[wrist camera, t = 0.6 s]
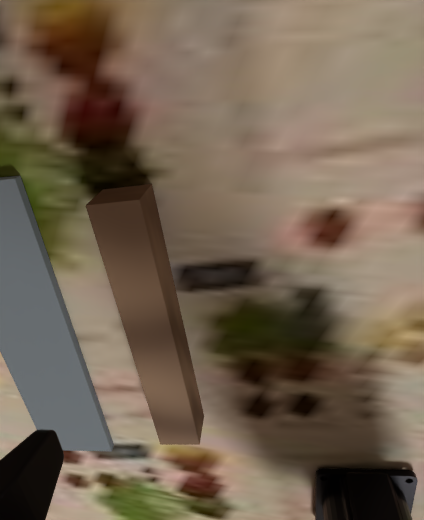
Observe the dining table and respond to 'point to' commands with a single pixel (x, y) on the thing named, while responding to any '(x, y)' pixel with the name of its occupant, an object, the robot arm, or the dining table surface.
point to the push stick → (149, 307)
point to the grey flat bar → (42, 332)
